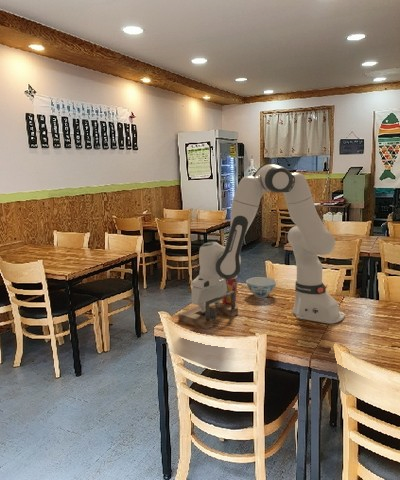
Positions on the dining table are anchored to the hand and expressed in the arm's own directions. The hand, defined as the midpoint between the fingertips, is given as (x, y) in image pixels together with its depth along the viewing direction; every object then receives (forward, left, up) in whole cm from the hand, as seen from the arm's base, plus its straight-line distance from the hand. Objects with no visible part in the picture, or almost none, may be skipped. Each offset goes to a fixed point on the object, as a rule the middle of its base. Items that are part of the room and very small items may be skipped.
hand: (210, 308), depth 180 cm
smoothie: (+5, -20, -4) cm, 21 cm away
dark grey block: (0, 0, -4) cm, 4 cm away
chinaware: (-1, -39, -4) cm, 39 cm away
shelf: (+1, 0, -4) cm, 4 cm away
